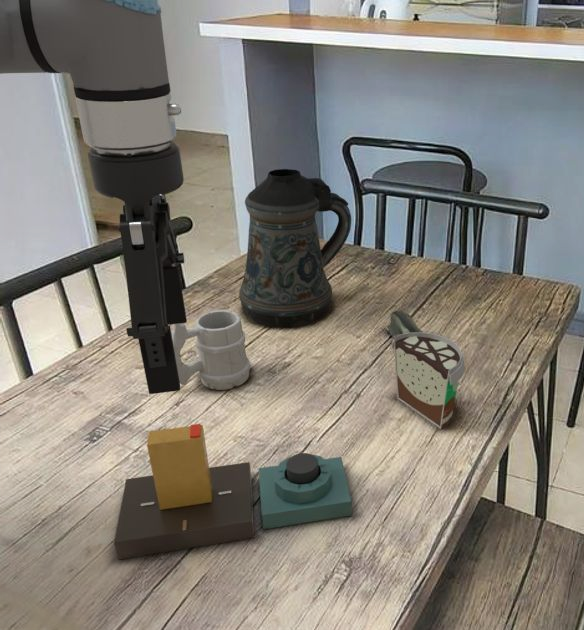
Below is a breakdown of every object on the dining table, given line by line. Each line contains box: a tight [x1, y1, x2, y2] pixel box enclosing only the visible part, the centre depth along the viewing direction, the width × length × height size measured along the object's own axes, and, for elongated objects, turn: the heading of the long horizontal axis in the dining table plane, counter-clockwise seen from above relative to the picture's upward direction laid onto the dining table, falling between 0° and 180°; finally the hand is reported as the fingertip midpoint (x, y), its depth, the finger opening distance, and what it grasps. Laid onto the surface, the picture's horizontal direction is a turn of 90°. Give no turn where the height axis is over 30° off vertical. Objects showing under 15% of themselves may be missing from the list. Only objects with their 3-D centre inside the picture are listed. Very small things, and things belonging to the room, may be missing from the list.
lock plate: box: [113, 461, 255, 560], centre depth 77 cm, size 14×10×3 cm
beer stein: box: [238, 168, 352, 329], centre depth 119 cm, size 16×19×25 cm
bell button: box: [286, 452, 319, 485], centre depth 78 cm, size 4×4×2 cm
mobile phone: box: [385, 310, 424, 338], centre depth 110 cm, size 5×3×15 cm
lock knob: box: [146, 423, 212, 510], centre depth 74 cm, size 6×2×9 cm, turn 104°
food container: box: [391, 331, 466, 430], centre depth 96 cm, size 12×6×10 cm, turn 41°
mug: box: [171, 309, 251, 391], centre depth 99 cm, size 8×12×12 cm, turn 127°
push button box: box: [258, 454, 353, 530], centre depth 80 cm, size 10×8×4 cm
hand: (169, 353), depth 69 cm, fingers open, 13 cm apart
